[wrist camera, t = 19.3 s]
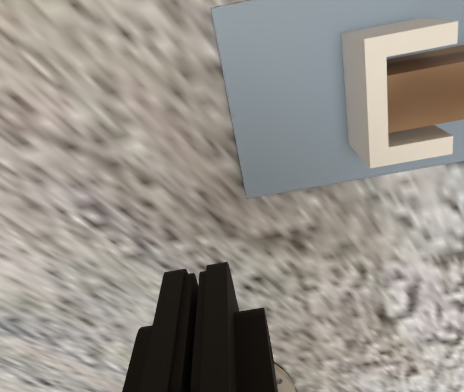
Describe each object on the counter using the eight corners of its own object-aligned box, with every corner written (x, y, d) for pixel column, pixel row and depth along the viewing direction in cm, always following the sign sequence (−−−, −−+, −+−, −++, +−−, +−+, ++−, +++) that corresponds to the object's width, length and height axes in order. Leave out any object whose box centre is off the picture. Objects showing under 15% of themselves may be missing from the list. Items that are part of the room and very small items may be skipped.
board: (587, 133, 32) (598, 137, 32) (245, 193, 34) (246, 198, 33) (626, -76, 27) (640, -79, 26) (211, 8, 28) (210, 8, 27)
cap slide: (418, 131, 31) (452, 153, 26) (348, 144, 31) (370, 168, 27) (419, 17, 28) (458, 21, 23) (341, 33, 28) (364, 39, 23)
